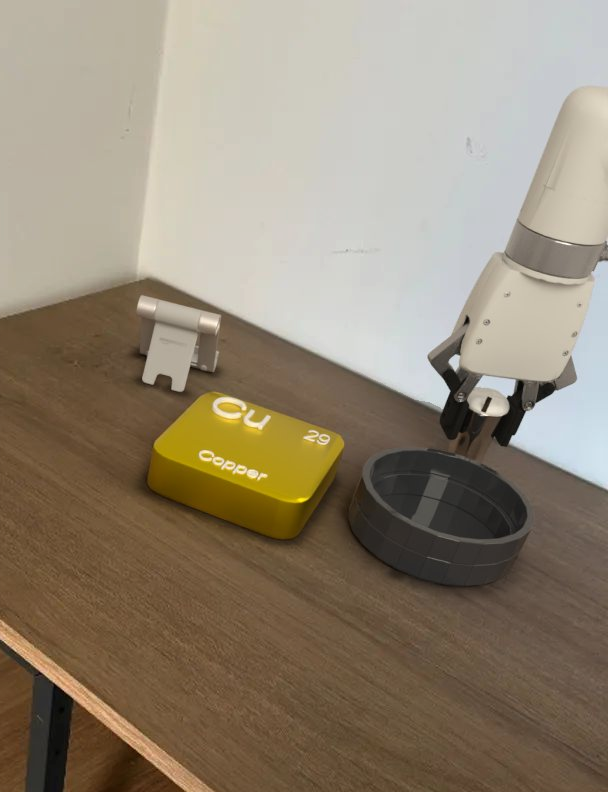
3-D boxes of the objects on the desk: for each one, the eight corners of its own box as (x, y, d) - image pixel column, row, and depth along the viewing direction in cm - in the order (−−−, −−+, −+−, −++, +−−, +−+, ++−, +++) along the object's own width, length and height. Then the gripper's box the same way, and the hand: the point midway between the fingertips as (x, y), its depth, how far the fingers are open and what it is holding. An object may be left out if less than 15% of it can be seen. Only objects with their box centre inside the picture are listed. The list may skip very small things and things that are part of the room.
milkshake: (430, 480, 97) (465, 390, 90) (438, 457, 101) (472, 368, 94) (475, 494, 96) (514, 403, 89) (481, 470, 100) (518, 381, 93)
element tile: (138, 489, 88) (146, 443, 85) (200, 424, 99) (209, 382, 96) (291, 547, 84) (305, 501, 81) (338, 474, 95) (352, 431, 92)
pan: (484, 500, 95) (504, 457, 92) (534, 598, 84) (559, 552, 81) (333, 483, 94) (348, 438, 91) (364, 580, 82) (382, 532, 79)
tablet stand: (215, 369, 109) (230, 297, 104) (200, 398, 103) (215, 323, 98) (143, 350, 110) (154, 278, 105) (124, 377, 104) (135, 302, 99)
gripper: (626, 249, 87) (541, 428, 99) (447, 222, 85) (383, 407, 97) (661, 281, 82) (567, 466, 93) (470, 253, 80) (399, 445, 92)
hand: (473, 434), depth 95 cm, fingers closed on milkshake, 4 cm apart
